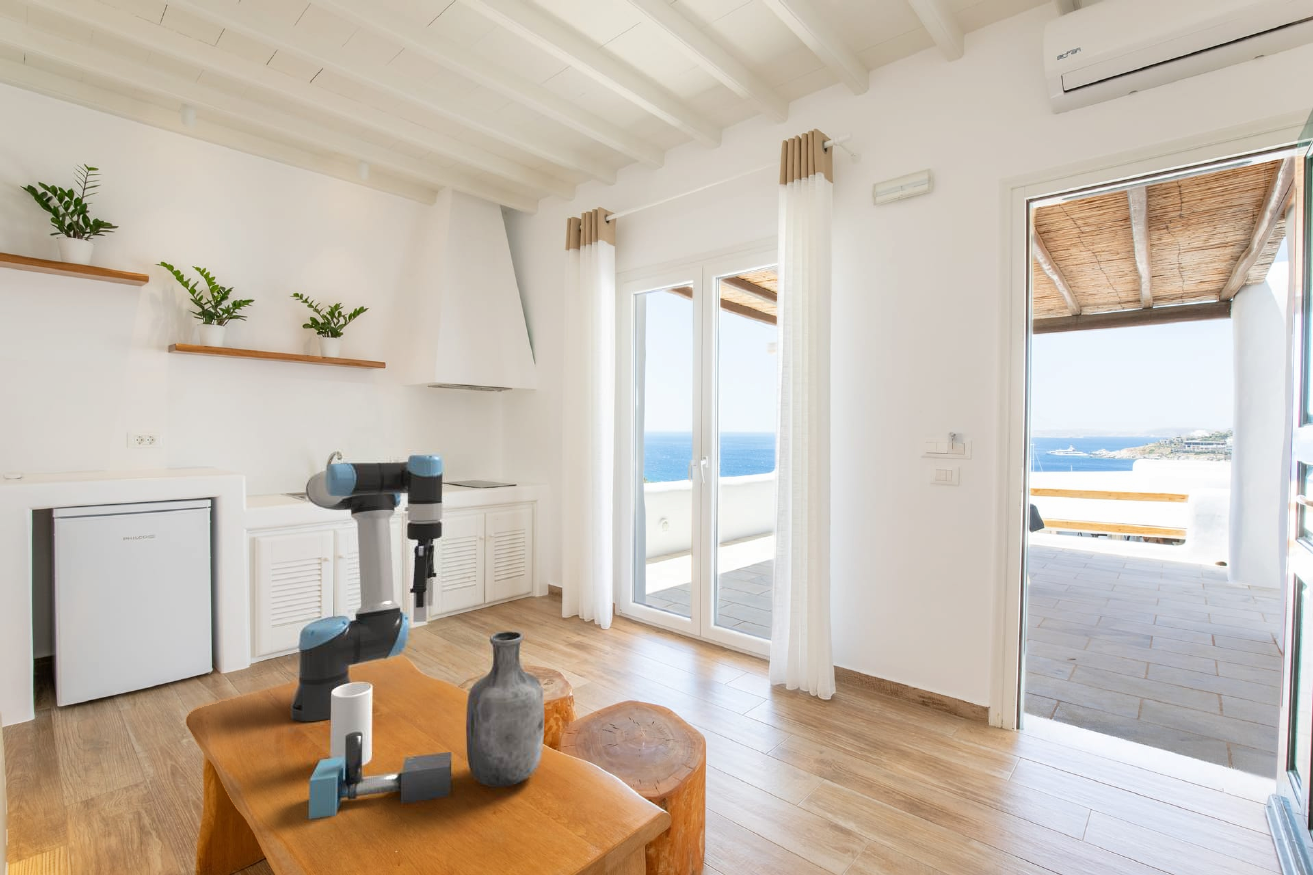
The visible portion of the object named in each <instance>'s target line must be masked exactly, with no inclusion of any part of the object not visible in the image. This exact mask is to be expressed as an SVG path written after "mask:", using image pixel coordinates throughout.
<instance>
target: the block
mask: <svg viewBox="0 0 1313 875" xmlns="http://www.w3.org/2000/svg"><path fill="white" fill-rule="evenodd" d="M451 786H452V751H446V752H440V753H439V752H438V753H432V754H431V753H430V754H424V755H416V756H407V757H405V759H404V762H403V765H402V769H401V790H400V804H405V803H406V804H407V803H412V802H413V803H414V802H415V803H416V802H420V801H427V800H429V801H430V800H435V799H436V800H437V799H442V798H449V797H450V794H451Z"/></svg>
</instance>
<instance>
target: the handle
mask: <svg viewBox="0 0 1313 875" xmlns="http://www.w3.org/2000/svg"><path fill="white" fill-rule="evenodd" d="M401 772H402V771H401ZM401 772H394V773H385V774H378V775H371V776H364V777H363V766H362V733H361V732H353V733H350V734H348V735H346V738H345V780H338V789H337V799H341V798H342V799H348V800H355V799H357V797H361V796H367V795H369V796H370V795H375V794H385V793H391V792H399V791H401Z"/></svg>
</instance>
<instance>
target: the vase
mask: <svg viewBox="0 0 1313 875" xmlns="http://www.w3.org/2000/svg"><path fill="white" fill-rule="evenodd" d="M523 638H524V636H523V634H522V632H519V631H501V632H497V633H494V634H492V635H490V637H489V643H490V644H491V645H492V654H493V656H492V657H493V658H492V667H491V670H490V671H489V673H487V675H485V676H483V677H481V678H480V679H478V680H477V681H476V682H475V683H474V684H473V685H472V687H471V688H470V690H469V692H468V695H467V696H468V697H467V703H466V718H465V719H466V721H465V726H466V727H465V730H466V731H465V734H466V736H465V737H466V756H467V761H468V762H467V763H468V768H469V771H470V774H471V775H472V776H473V778H475V780H476V781H477V782H480V783H481V784H483V785H486V786H490V787H499V788H502V787H509V786H513V785H515V784H516V785H517V784H519V783H521V782H523V781H525V780H527V779H529V777H530V776H532V775H533V774H534V773H535V772H536V770H537V768H538V767H539V765H540V763H541V758H542V754H543V749H544V748H543V746H544V738H545V737H544V735H545V700H544V699H545V698H544V689H543V686H542V684H541V682H540V680H539V679H538V678H537V677H536V676H534V675H532V674H530V673H528V672H525V671H524V669H523V668H522V665H521V663H520V647H521V643H522V642H523V641H524V640H523Z"/></svg>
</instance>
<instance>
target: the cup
mask: <svg viewBox="0 0 1313 875" xmlns="http://www.w3.org/2000/svg"><path fill="white" fill-rule="evenodd" d="M353 732H361V733H362V767H364V766H365V765H367V764H368V763H370V761H372V758H373V756H372V754H373V753H372V752H373V749H372V748H373V747H372V746H373V744H372V743H373V740H372V739H373V685H372V683H369V682H366V681H365V682H364V681H355V682H351V683H348V684H344V685H341V686H339V687H337V688H335V689H333V690H332V692H331V718H330V754H329V756H330V758H329V759H332V758H340V757H345V738H346V735H348V734H350V733H353Z"/></svg>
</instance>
